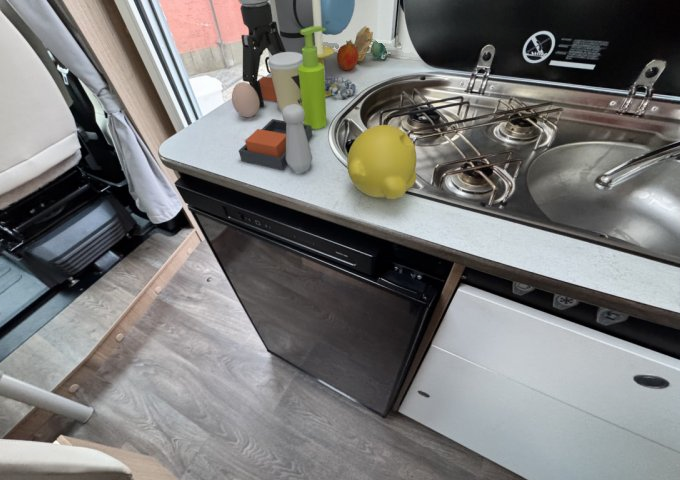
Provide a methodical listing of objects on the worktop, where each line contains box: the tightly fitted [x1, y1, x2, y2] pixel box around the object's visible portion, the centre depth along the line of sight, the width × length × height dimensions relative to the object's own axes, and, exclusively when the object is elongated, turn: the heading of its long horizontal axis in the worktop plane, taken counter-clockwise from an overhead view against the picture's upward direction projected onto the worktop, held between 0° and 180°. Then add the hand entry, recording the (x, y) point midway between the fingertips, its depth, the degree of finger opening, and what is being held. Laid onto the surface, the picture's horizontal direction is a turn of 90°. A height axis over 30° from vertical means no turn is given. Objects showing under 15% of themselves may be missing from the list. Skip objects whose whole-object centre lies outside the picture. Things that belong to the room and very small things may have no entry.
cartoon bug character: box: [346, 25, 392, 62], centre depth 101 cm, size 10×18×15 cm
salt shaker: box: [281, 104, 313, 174], centre depth 61 cm, size 6×6×13 cm
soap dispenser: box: [298, 26, 328, 130], centre depth 70 cm, size 6×7×20 cm
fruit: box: [336, 40, 359, 72], centre depth 96 cm, size 7×7×8 cm
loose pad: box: [257, 76, 277, 102], centre depth 88 cm, size 6×8×4 cm
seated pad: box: [244, 128, 286, 157], centre depth 67 cm, size 6×8×4 cm
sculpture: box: [346, 124, 418, 200], centre depth 55 cm, size 15×13×13 cm
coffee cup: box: [267, 52, 303, 112], centre depth 80 cm, size 9×9×12 cm
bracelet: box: [324, 75, 357, 98], centre depth 87 cm, size 10×10×2 cm
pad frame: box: [238, 118, 313, 171], centre depth 70 cm, size 16×11×3 cm
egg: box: [231, 81, 260, 118], centre depth 79 cm, size 7×7×8 cm
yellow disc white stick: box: [312, 0, 339, 98], centre depth 79 cm, size 10×10×27 cm
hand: (271, 96), depth 89 cm, fingers open, 13 cm apart
